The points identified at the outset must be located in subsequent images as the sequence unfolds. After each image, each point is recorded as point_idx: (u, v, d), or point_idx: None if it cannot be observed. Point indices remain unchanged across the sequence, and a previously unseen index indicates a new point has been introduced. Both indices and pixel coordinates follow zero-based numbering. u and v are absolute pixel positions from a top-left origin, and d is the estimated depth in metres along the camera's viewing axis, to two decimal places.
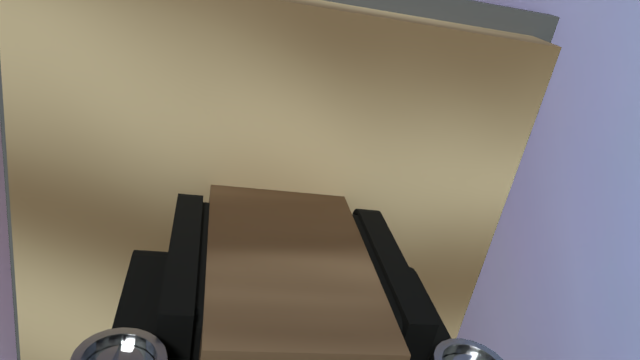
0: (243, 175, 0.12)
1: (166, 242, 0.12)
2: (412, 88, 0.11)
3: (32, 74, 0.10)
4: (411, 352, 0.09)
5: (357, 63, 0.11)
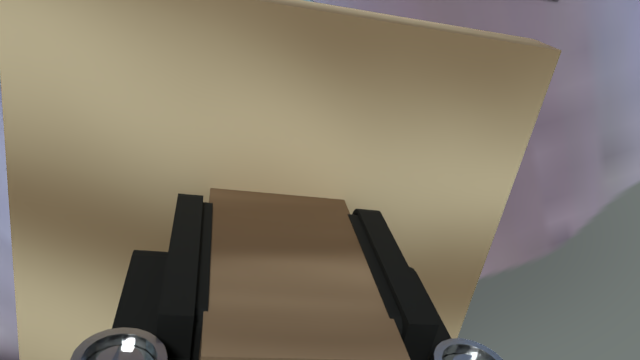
0: (242, 178, 0.12)
1: (166, 245, 0.12)
2: (411, 91, 0.11)
3: (31, 78, 0.10)
4: (411, 352, 0.09)
5: (357, 66, 0.11)
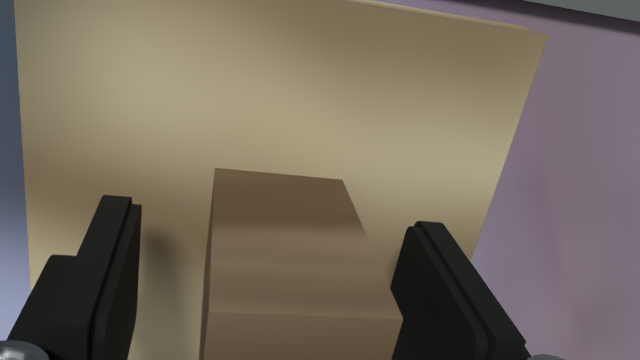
0: (245, 158, 0.12)
1: (172, 223, 0.13)
2: (406, 75, 0.12)
3: (46, 61, 0.11)
4: None
5: (353, 51, 0.12)
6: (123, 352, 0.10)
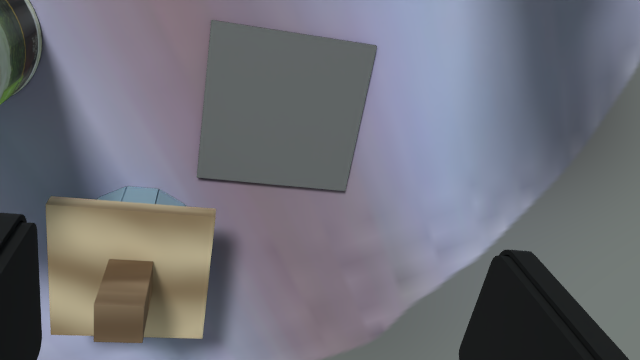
0: (119, 256, 0.38)
1: (96, 276, 0.38)
2: (169, 230, 0.38)
3: (55, 231, 0.36)
4: None
5: (150, 224, 0.37)
6: None
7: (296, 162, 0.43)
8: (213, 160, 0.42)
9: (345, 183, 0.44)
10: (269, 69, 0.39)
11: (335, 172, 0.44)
